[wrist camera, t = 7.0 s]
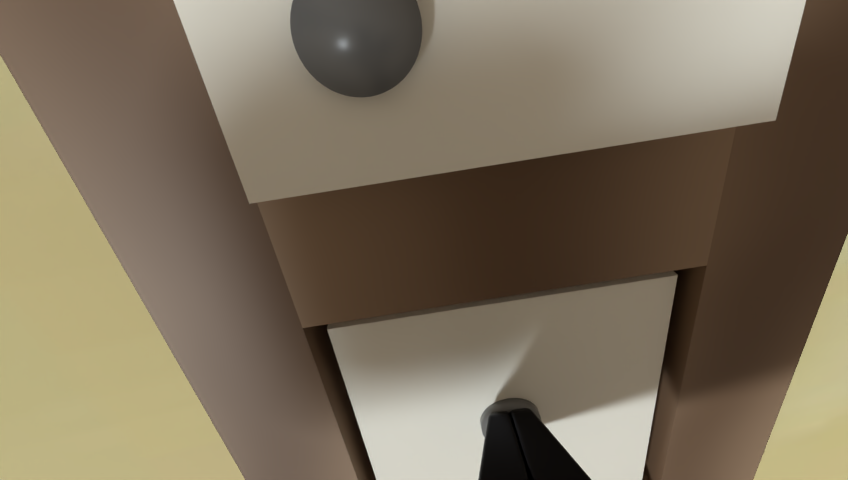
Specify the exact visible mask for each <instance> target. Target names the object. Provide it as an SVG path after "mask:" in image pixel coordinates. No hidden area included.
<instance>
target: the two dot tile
mask: <svg viewBox="0 0 848 480" xmlns="http://www.w3.org/2000/svg"><path fill="white" fill-rule="evenodd" d="M173 1H174V3H175V6H176V9H177V11H178V14H179V17H180V19H181V22H182V25H183V27H184V30H185V33H186V35H187V38H188V41H189V44H190V46H191V49H192V52H193V54H194V57H195V60H196V62H197V65H198V68H199V70H200V73H201V76H202V78H203V81H204V84H205V86H206V89H207V92H208V94H209V97H210V100H211V102H212V105H213V108H214V110H215V113H216V116H217V118H218V121H219V124H220V126H221V129H222V132H223V134H224V137H225V140H226V143H227V145H228V148H229V151H230V153H231V156H232V159H233V161H234V164H235V167H236V169H237V172H238V175H239V177H240V180H241V183H242V185H243V188H244V191H245V193H246V196H247V199H248V201H249V204H251V203H258V202H264V201H270V200H277V199H283V198H289V197H295V196H302V195H308V194H314V193H321V192H327V191H333V190H340V189H346V188H352V187H359V186H365V185H371V184H377V183H384V182H390V181H396V180H403V179H409V178H415V177H422V176H428V175H434V174H441V173H447V172H453V171H459V170H466V169H472V168H478V167H485V166H491V165H497V164H504V163H510V162H516V161H523V160H529V159H535V158H542V157H548V156H554V155H560V154H567V153H573V152H579V151H586V150H592V149H598V148H605V147H611V146H617V145H624V144H630V143H636V142H642V141H649V140H655V139H661V138H668V137H674V136H680V135H687V134H693V133H699V132H706V131H712V130H718V129H724V128H731V127H737V126H743V125H750V124H756V123H762V122H769V121H775V120H776V117H777V113H778V109H779V105H780V101H781V97H782V94H783V90H784V86H785V82H786V78H787V74H788V70H789V66H790V62H791V58H792V54H793V50H794V46H795V42H796V38H797V34H798V31H799V27H800V23H801V19H802V15H803V11H804V7H805V3H806V0H173Z"/></svg>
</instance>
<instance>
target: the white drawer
mask: <svg viewBox="0 0 848 480" xmlns="http://www.w3.org/2000/svg"><path fill="white" fill-rule="evenodd" d="M677 277H678V275H677V274H676V273H675V272H674V271H668V272H661V273H655V274H648V275H642V276H635V277H629V278H622V279H616V280H610V281H603V282H597V283H590V284H584V285H577V286H571V287H564V288H558V289H551V290H545V291H539V292H532V293H526V294H519V295H513V296H506V297H500V298H493V299H487V300H480V301H474V302H468V303H461V304H455V305H448V306H442V307H435V308H429V309H422V310H416V311H409V312H403V313H397V314H390V315H384V316H377V317H371V318H364V319H358V320H351V321H345V322H338V323H332V324H328V327H327V331H328V334H329V337H330V340H331V343H332V346H333V349H334V352H335V355H336V358H337V361H338V364H339V368H340V371H341V374H342V377H343V380H344V383H345V386H346V389H347V392H348V395H349V398H350V401H351V404H352V407H353V410H354V413H355V416H356V419H357V422H358V425H359V428H360V431H361V434H362V438H363V441H364V444H365V447H366V450H367V453H368V456H369V459H370V462H371V465H372V468H373V471H374V474H375V477H376V480H478V478H479V472H480V465H481V459H482V452H483V446H484V439H485V433H486V426H487V420H488V416H489V414H490V413H495V412H502V411H507V412H508V413H510V411H511V410H515V409H522V408H529V409H531V410H532V411H533V412H534V413H535V414H536V415H537V417H538V418H539V419H540V420H541V421H542V422H543V424H544V425H545V426H546V427H547V428H548V429H549V431H550V432H551V433H552V434H553V435H554V436H555V438H556V439H557V440H558V441H559V442H560V443H561V445H562V446H563V447H564V448H565V449H566V450H567V452H568V453H569V454H570V455H571V456H572V457H573V459H574V460H575V461H576V462H577V463H578V464H579V466H580V467H581V468H582V469H583V470H584V471H585V473H586V474H587V475H588V476H589V477H590V478H591V480H642V478H643V472H644V466H645V460H646V455H647V449H648V443H649V437H650V432H651V426H652V420H653V414H654V409H655V403H656V397H657V391H658V386H659V380H660V374H661V368H662V363H663V357H664V351H665V345H666V340H667V334H668V328H669V323H670V317H671V311H672V305H673V300H674V294H675V288H676V282H677Z"/></svg>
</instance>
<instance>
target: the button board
mask: <svg viewBox="0 0 848 480" xmlns="http://www.w3.org/2000/svg"><path fill="white" fill-rule="evenodd" d="M0 55H1V57H2V58H3V60H4V62H5V63H6V65H7V67H8V69H9V70H10V72H11V74H12V76H13V77H14V79H15V81H16V83H17V84H18V86H19V88H20V89H21V91H22V93H23V95H24V96H25V98H26V100H27V102H28V103H29V105H30V107H31V109H32V110H33V112H34V114H35V116H36V117H37V119H38V121H39V122H40V124H41V126H42V128H43V129H44V131H45V133H46V135H47V136H48V138H49V140H50V142H51V143H52V145H53V147H54V148H55V150H56V152H57V154H58V155H59V157H60V159H61V161H62V162H63V164H64V166H65V168H66V169H67V171H68V173H69V175H70V176H71V178H72V180H73V181H74V183H75V185H76V187H77V188H78V190H79V192H80V194H81V195H82V197H83V199H84V201H85V202H86V204H87V206H88V207H89V209H90V211H91V213H92V214H93V216H94V218H95V220H96V221H97V223H98V225H99V227H100V228H101V230H102V232H103V234H104V235H105V237H106V239H107V240H108V242H109V244H110V246H111V247H112V249H113V251H114V253H115V254H116V256H117V258H118V260H119V261H120V263H121V265H122V266H123V268H124V270H125V272H126V273H127V275H128V277H129V279H130V280H131V282H132V284H133V286H134V287H135V289H136V291H137V293H138V294H139V296H140V298H141V299H142V301H143V303H144V305H145V306H146V308H147V310H148V312H149V313H150V315H151V317H152V319H153V320H154V322H155V324H156V326H157V327H158V329H159V331H160V332H161V334H162V336H163V338H164V339H165V341H166V343H167V345H168V346H169V348H170V350H171V352H172V353H173V355H174V357H175V358H176V360H177V362H178V364H179V365H180V367H181V369H182V371H183V372H184V374H185V376H186V378H187V379H188V381H189V383H190V385H191V386H192V388H193V390H194V391H195V393H196V395H197V397H198V398H199V400H200V402H201V404H202V405H203V407H204V409H205V411H206V412H207V414H208V416H209V417H210V419H211V421H212V423H213V424H214V426H215V428H216V430H217V431H218V433H219V435H220V437H221V438H222V440H223V442H224V444H225V445H226V447H227V449H228V450H229V452H230V454H231V456H232V457H233V459H234V461H235V463H236V464H237V466H238V468H239V470H240V471H241V473H242V475H243V476H244V478H245V480H376V477H375V474H374V471H373V468H372V465H371V462H370V459H369V456H368V453H367V450H366V447H365V444H364V441H363V438H362V434H361V431H360V428H359V425H358V422H357V419H356V416H355V413H354V410H353V407H352V404H351V401H350V398H349V395H348V392H347V389H346V386H345V383H344V380H343V377H342V374H341V371H340V368H339V364H338V361H337V358H336V355H335V352H334V349H333V346H332V343H331V340H330V337H329V334H328V331H327V327H328V324H332V323H338V322H345V321H351V320H358V319H364V318H371V317H377V316H384V315H390V314H397V313H403V312H409V311H416V310H422V309H429V308H435V307H442V306H448V305H455V304H461V303H468V302H474V301H480V300H487V299H493V298H500V297H506V296H513V295H519V294H526V293H532V292H539V291H545V290H551V289H558V288H564V287H571V286H577V285H584V284H590V283H597V282H603V281H610V280H616V279H622V278H629V277H635V276H642V275H648V274H655V273H661V272H668V271H674V272H675V273H676V274H677V275H678V277H677V282H676V288H675V294H674V300H673V305H672V311H671V317H670V323H669V328H668V334H667V340H666V345H665V351H664V357H663V363H662V368H661V374H660V380H659V386H658V391H657V397H656V403H655V409H654V414H653V420H652V426H651V432H650V437H649V443H648V449H647V455H646V460H645V466H644V472H643V478H642V480H753V479H754V476H755V473H756V471H757V468H758V466H759V463H760V460H761V458H762V455H763V453H764V450H765V447H766V445H767V442H768V440H769V437H770V434H771V432H772V429H773V427H774V424H775V421H776V419H777V416H778V414H779V411H780V408H781V406H782V403H783V401H784V398H785V395H786V393H787V390H788V388H789V385H790V382H791V380H792V377H793V375H794V372H795V369H796V367H797V364H798V361H799V359H800V356H801V354H802V351H803V348H804V346H805V343H806V341H807V338H808V335H809V333H810V330H811V328H812V325H813V322H814V320H815V317H816V315H817V312H818V309H819V307H820V304H821V302H822V299H823V296H824V294H825V291H826V289H827V286H828V283H829V281H830V278H831V276H832V273H833V270H834V268H835V265H836V263H837V260H838V257H839V255H840V252H841V249H842V247H843V244H844V242H845V239H846V236H847V234H848V0H806V3H805V7H804V11H803V15H802V19H801V23H800V27H799V31H798V34H797V38H796V42H795V46H794V50H793V54H792V58H791V62H790V66H789V70H788V74H787V78H786V82H785V86H784V90H783V94H782V97H781V101H780V105H779V109H778V113H777V117H776V120H775V121H769V122H762V123H756V124H750V125H743V126H737V127H731V128H724V129H718V130H712V131H706V132H699V133H693V134H687V135H680V136H674V137H668V138H661V139H655V140H649V141H642V142H636V143H630V144H624V145H617V146H611V147H605V148H598V149H592V150H586V151H579V152H573V153H567V154H560V155H554V156H548V157H542V158H535V159H529V160H523V161H516V162H510V163H504V164H497V165H491V166H485V167H478V168H472V169H466V170H459V171H453V172H447V173H441V174H434V175H428V176H422V177H415V178H409V179H403V180H396V181H390V182H384V183H377V184H371V185H365V186H359V187H352V188H346V189H340V190H333V191H327V192H321V193H314V194H308V195H302V196H295V197H289V198H283V199H277V200H270V201H264V202H258V203H251V204H249V201H248V199H247V196H246V193H245V191H244V188H243V185H242V183H241V180H240V177H239V175H238V172H237V169H236V167H235V164H234V161H233V159H232V156H231V153H230V151H229V148H228V145H227V143H226V140H225V137H224V134H223V132H222V129H221V126H220V124H219V121H218V118H217V116H216V113H215V110H214V108H213V105H212V102H211V100H210V97H209V94H208V92H207V89H206V86H205V84H204V81H203V78H202V76H201V73H200V70H199V68H198V65H197V62H196V60H195V57H194V54H193V52H192V49H191V46H190V44H189V41H188V38H187V35H186V33H185V30H184V27H183V25H182V22H181V19H180V17H179V14H178V11H177V9H176V6H175V3H174V1H173V0H0Z"/></svg>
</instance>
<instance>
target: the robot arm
mask: <svg viewBox="0 0 848 480" xmlns="http://www.w3.org/2000/svg"><path fill="white" fill-rule="evenodd" d="M478 480H591V478H590V477H589V476H588V475H587V474H586V473H585V471H584V470H583V469H582V468H581V467H580V466H579V464H578V463H577V462H576V461H575V460H574V459H573V457H572V456H571V455H570V454H569V453H568V452H567V450H566V449H565V448H564V447H563V446H562V445H561V443H560V442H559V441H558V440H557V439H556V438H555V436H554V435H553V434H552V433H551V432H550V431H549V429H548V428H547V427H546V426H545V425H544V424H543V422H542V421H541V420H540V419H539V418H538V417H537V415H536V414H535V413H534V412H533V411H532V410H531V409H529V408H522V409H515V410H511V411H510V413H508V412H507V411H502V412H495V413H490V414H489V416H488V420H487V426H486V433H485V439H484V446H483V452H482V459H481V465H480V472H479V478H478Z"/></svg>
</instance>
